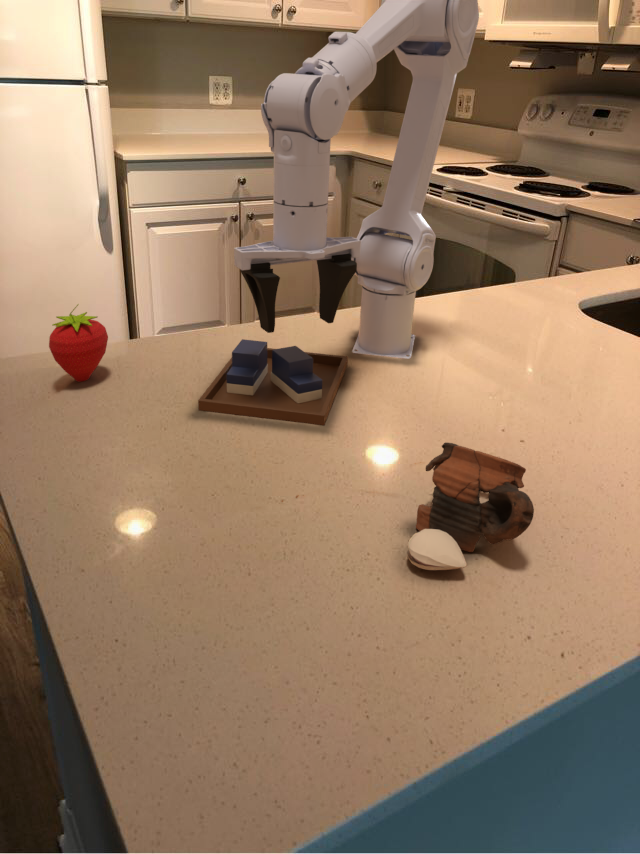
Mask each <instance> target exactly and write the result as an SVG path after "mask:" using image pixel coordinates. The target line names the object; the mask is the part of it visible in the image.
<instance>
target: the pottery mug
mask: <svg viewBox="0 0 640 854" xmlns="http://www.w3.org/2000/svg"><path fill="white" fill-rule="evenodd" d="M441 448H442V449H443V450H442V452H441V454H439V455H437V456H435V457H434V458H432V459H431V460H430V461H429V462H428V463H427V464H426V465H425V471H426V472H431V470H433V472H432V478H431V480H432V482H433V484H434V485H435V487H433V492H432V500H431V504H432V505H431V506H428V505H426V504H424V503H421V504H419V505H418V508H417V510H416V525H415V529H416V530H417V531H418V532H420V531H421V530H423V529H437V530H441V531H444V532H446V533H448V534H449V535H450V536H451V537H452V538H453V539H454V540H455V541H456V542H457V544H458V546H459V548H460V549H461V551H464V552H469V553H473V552H474V550H475V548H476V545H477V543H478V542H479V540H480V538H481V536H482V535H483V537H484V539H485V541H486V542H488V543H489V544H491V545H497V544H500V543H502V542H504V541H512V540H515V539H517V538H518V537H519V536H521V535H522V534H523V533H524V532H526V530H527V529H528V528H529V527H530V525H532V524H531V523H532V521H533V520H534V519H533V518H534V514H535V507H534V503H533V501H532V499H531V498H530V496H529V495H528V494H527V493H526V492H524V491H522V490H520V489H523V488H524V487H525V484H524V482H523V478H524V474H525V473H526V471H527V469H526V468H525V467H524V466H522V465H521V464H519V463H516V462H513V461H511V460H508V459H506V458H502V457H500V456H496V455H492V454H489V453H486V452H483V451H479V450H475V449H472V448H470V447H466V446H462V445H459V444H457V443H453V442H444V443H443V444H442V445H441ZM481 492H482V493H485V494H486V493H488V496H487V497H488V500H487V501H485V502H481V500H480V493H481Z"/></svg>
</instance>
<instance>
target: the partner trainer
mask: <svg viewBox="0 0 640 854" xmlns="http://www.w3.org/2000/svg"><path fill="white" fill-rule="evenodd" d="M267 348H268V341H262V340H252V339H243V338H242V339H241V340H240V341H239V342H238V344H237V345H236V346H235V348H234V349H233V350H232V351H231V358H232V368H231V369H230V370H229V372H228V373H227V393H235V394H244V395H252V396H253V395H254V393H255V392H256V390H257V389H258V387H259V385H260V384H261V382H262V381H263V379H264V377H265V376H266V374H267V373H268V364H267Z"/></svg>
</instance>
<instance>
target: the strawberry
mask: <svg viewBox="0 0 640 854" xmlns="http://www.w3.org/2000/svg"><path fill="white" fill-rule="evenodd" d="M78 306H79V303H78V304H76V306H75V307H74V308H73V309H72V310H71V312H70V313H69V314H68V315H61V316H59V315H58V316H55V318H56V319H59V320H62V321H59V322H55V323H52V326H54V327H55V328H54V329H53V331H52V332H51V333H50V334H49V337H48V338H49V339H48V340H49V341H48V348H49V351H50V353H51V355H52V358H53V359H54V361H55V363H57V364H58V366H59V367H60V368H62V370H63V371H64V372H65V373H66V374H68V376H70V377H72V378H73V379H74V380H75V381H76V382H86V381H88V380H89V379H90V378H91V376H92V374H93V373H94V371H95V370H96V369H97V368H98V366H99V365H100V362H101V361H102V359H103V358H104V356H105V354H106V352H107V346H108V341H109V335H108V332H107V327H106V326H105V325H104V324H102V323H101V322H99V321H98V320H95V319H98V316H97V315H96V316H94V315H87V314H88V312H87V311H85V312H82V313H80V314H77V315H75V314H72V313H73V312H74V311H75V310H76V309H77V308H78Z"/></svg>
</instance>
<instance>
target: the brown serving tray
mask: <svg viewBox="0 0 640 854" xmlns="http://www.w3.org/2000/svg"><path fill="white" fill-rule="evenodd" d="M273 349H274V348H273V347H272V348H271V347H267V364H268V373H267V374H266V376H265V377H264V379H263V381H262V382H261V384H260V385H259V387H258V389H257V390H256V392H255V393H254V395H253V396H252V395H244V394H235V393H227V373H228V372H229V370H230V369H231V368H232V357H231V358H230V359H229V360H228V362H226V364H225V365H224V367H223V368H222V369H221V371H220V372H219V373H218V374H217V376H216V377H215V378H214V379H213V380H212V381H211V383H210V384H209V386H208V387H207V388H206V390H205V391H204V392H203V393H202V395H201V396H200V397H199V399H198V400H197V404H198V407H197V408H198V411H201V412H206V413H207V412H208V413H216V414H223V415H224V414H226V415H233V416H240V417H241V416H243V417H250V418H258V419H264V420H265V419H266V420H273V421H281V422H282V421H283V422H290V423H298V424H308V425H315V426H325V425H326V422H327V419H328V418H329V414H330V413H331V412H330V411H331V409H332V405H333V404H334V401H335V399H336V397H337V393H338V391H339V388H340V385H341V383H342V381H343V378H344V375H345V373H346V370H347V368H348V361H349V356H347V355H339V354H338V355H337V354H328V353H318V352H310V351H309V352H308V351H304V352H305V353H306V354H308V355H309V356H311V357H312V358H313V373H314V374H315V375H317V376H318V377H319V378H321V379H322V398H321V399H317V400H312V401H307V402H303V403H296V402H295V401H294V400H293V399H292V398H291V397H289V396H288V395H287V394H286V393H285V392H284V391H282V390H281V389H280V388H279V387H278V386H276V385H275V384H274V383H273V382H272V381H271V372H272V350H273Z"/></svg>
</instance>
